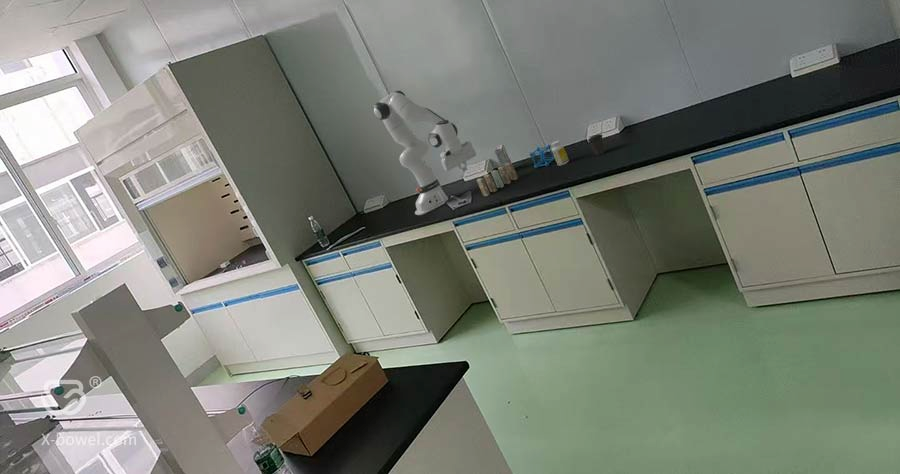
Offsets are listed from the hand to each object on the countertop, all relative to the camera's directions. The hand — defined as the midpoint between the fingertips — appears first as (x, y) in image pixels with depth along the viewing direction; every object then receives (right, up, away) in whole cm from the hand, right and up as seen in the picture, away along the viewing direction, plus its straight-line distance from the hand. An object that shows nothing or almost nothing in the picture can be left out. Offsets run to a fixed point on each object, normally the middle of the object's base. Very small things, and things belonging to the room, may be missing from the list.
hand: (464, 170), depth 355 cm
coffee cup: (+72, +8, -15) cm, 74 cm away
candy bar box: (+28, +3, +35) cm, 45 cm away
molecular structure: (+47, +5, +14) cm, 50 cm away
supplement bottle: (+55, +4, -1) cm, 55 cm away
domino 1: (+13, -13, +7) cm, 20 cm away
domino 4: (+29, -3, +13) cm, 32 cm away
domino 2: (+17, -11, +9) cm, 22 cm away
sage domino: (+21, -8, +10) cm, 25 cm away
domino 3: (+25, -6, +12) cm, 28 cm away
